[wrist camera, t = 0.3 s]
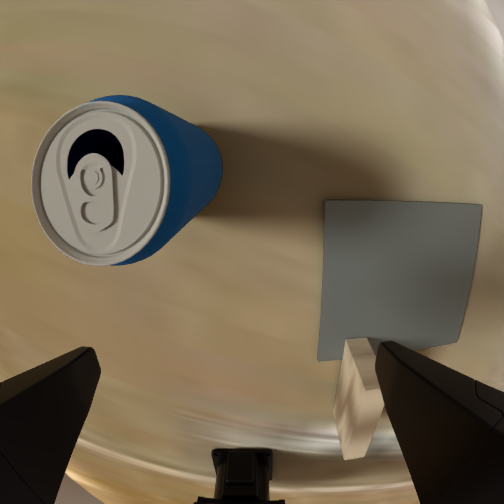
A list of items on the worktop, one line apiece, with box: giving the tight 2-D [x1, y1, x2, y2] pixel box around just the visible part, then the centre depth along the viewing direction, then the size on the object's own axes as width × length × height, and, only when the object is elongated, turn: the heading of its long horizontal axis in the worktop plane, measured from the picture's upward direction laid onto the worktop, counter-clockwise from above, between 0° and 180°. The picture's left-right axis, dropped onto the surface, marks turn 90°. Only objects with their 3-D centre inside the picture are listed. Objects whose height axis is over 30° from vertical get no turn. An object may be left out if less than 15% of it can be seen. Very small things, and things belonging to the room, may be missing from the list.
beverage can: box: [31, 95, 223, 266], centre depth 15 cm, size 6×6×12 cm
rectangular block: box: [333, 337, 384, 460], centre depth 22 cm, size 9×2×6 cm, turn 2°
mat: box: [317, 200, 482, 361], centre depth 23 cm, size 13×14×1 cm
